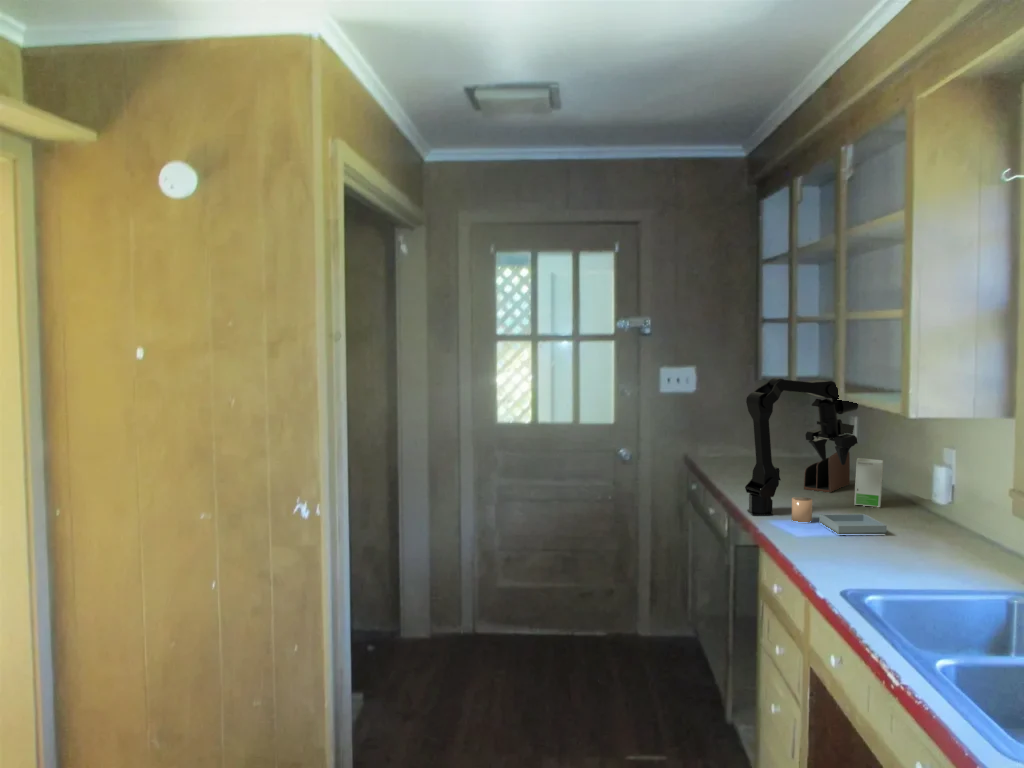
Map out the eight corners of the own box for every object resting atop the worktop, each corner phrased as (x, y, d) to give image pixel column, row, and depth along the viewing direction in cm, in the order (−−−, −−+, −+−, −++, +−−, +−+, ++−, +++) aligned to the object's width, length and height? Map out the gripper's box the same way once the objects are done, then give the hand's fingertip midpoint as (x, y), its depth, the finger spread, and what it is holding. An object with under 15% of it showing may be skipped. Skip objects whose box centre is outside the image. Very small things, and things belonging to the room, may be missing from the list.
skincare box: (853, 506, 265) (854, 460, 264) (855, 501, 271) (856, 457, 270) (881, 508, 261) (882, 462, 260) (882, 504, 267) (883, 459, 266)
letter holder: (849, 485, 300) (850, 448, 299) (830, 493, 285) (831, 455, 284) (823, 481, 306) (824, 445, 305) (803, 489, 292) (804, 452, 291)
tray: (838, 536, 228) (838, 526, 228) (819, 523, 242) (819, 514, 242) (886, 535, 228) (886, 525, 228) (864, 523, 242) (864, 513, 242)
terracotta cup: (795, 523, 243) (796, 500, 242) (788, 518, 249) (789, 496, 248) (814, 523, 243) (815, 500, 242) (807, 518, 249) (808, 496, 248)
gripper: (868, 415, 255) (873, 461, 257) (828, 409, 273) (833, 452, 274) (840, 422, 252) (846, 469, 254) (802, 416, 269) (807, 460, 271)
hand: (833, 462), depth 263 cm, fingers open, 9 cm apart
